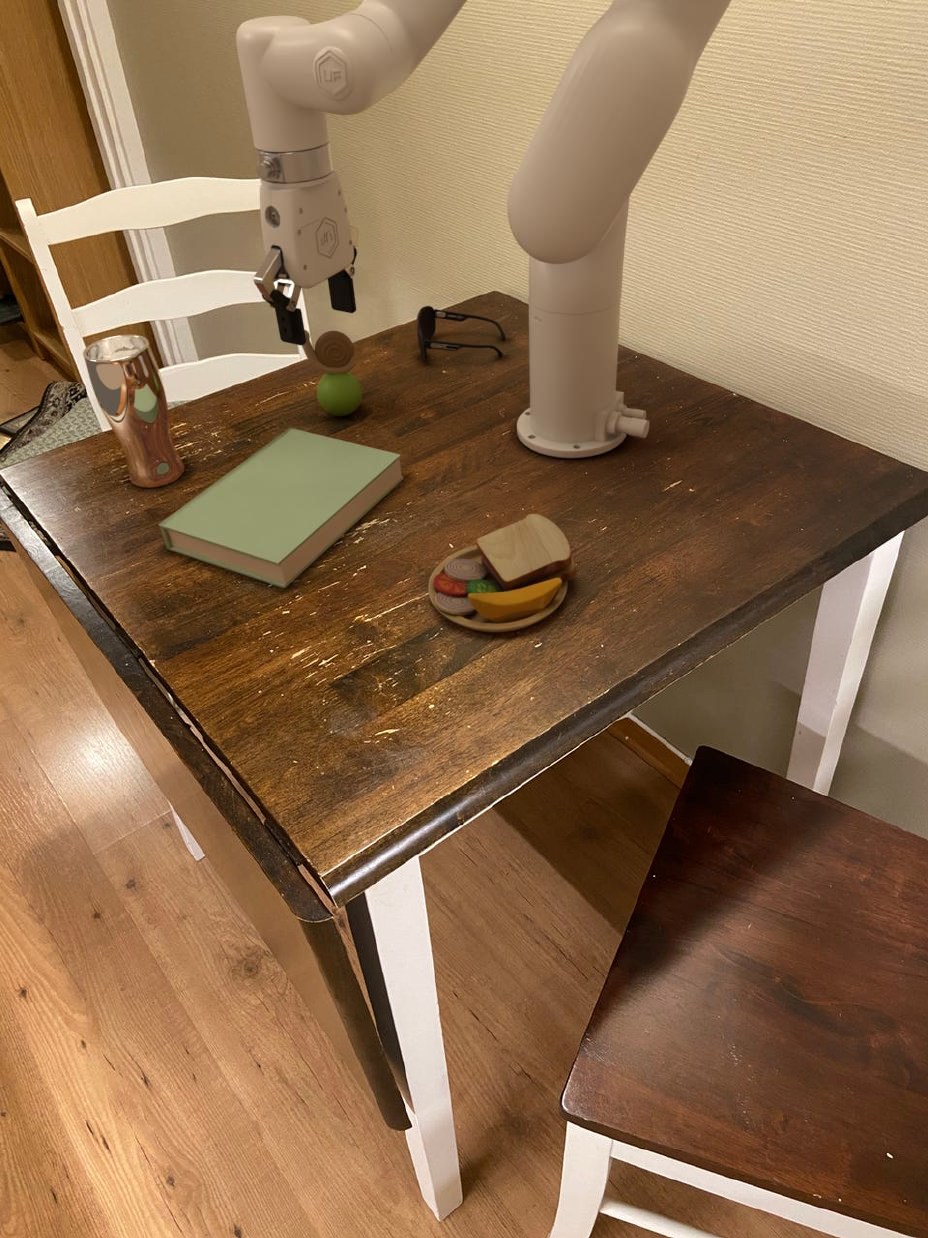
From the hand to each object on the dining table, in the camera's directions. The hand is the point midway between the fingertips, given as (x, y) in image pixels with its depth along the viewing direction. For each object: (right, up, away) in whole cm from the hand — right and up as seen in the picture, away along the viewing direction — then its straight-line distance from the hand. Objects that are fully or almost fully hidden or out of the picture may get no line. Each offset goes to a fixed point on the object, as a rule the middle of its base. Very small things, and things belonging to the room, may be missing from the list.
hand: (319, 326), depth 101 cm
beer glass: (-18, -17, -1) cm, 25 cm away
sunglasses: (+16, +3, +19) cm, 25 cm away
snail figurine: (+1, -9, +7) cm, 11 cm away
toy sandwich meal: (+20, -31, -21) cm, 42 cm away
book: (-2, -23, -9) cm, 24 cm away
